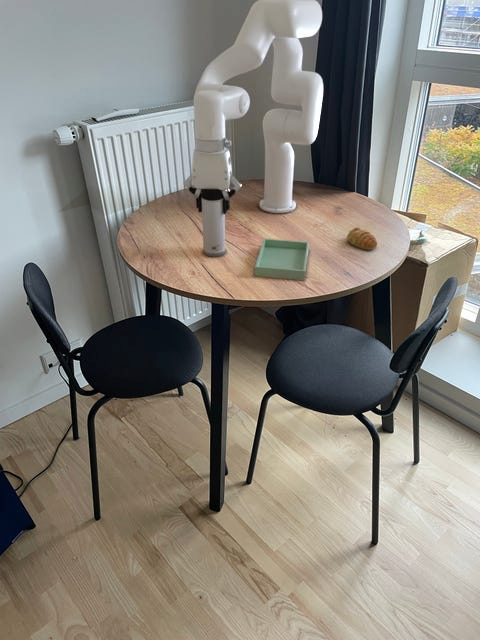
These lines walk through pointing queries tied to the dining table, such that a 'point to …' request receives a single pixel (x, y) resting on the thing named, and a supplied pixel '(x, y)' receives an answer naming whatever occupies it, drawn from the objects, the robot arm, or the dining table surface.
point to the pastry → (362, 239)
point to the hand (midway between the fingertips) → (213, 210)
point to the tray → (282, 259)
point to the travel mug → (213, 222)
